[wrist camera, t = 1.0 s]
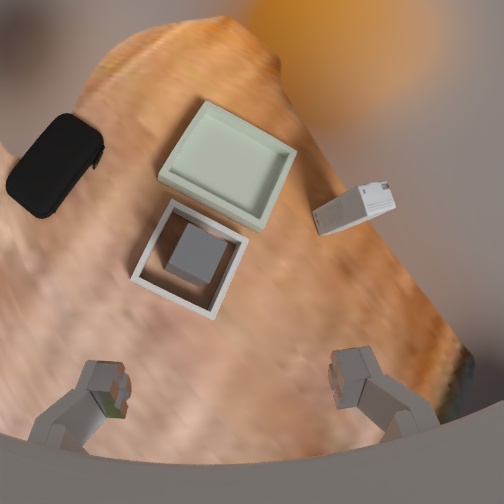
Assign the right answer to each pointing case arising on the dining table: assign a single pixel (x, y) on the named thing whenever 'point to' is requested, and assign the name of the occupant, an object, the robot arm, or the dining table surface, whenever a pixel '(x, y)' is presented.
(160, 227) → the frame
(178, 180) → the tray
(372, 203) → the skincare box
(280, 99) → the dining table surface
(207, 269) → the matte grey square block
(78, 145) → the carrying case or bag
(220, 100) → the dining table surface
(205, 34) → the dining table surface
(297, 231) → the dining table surface
